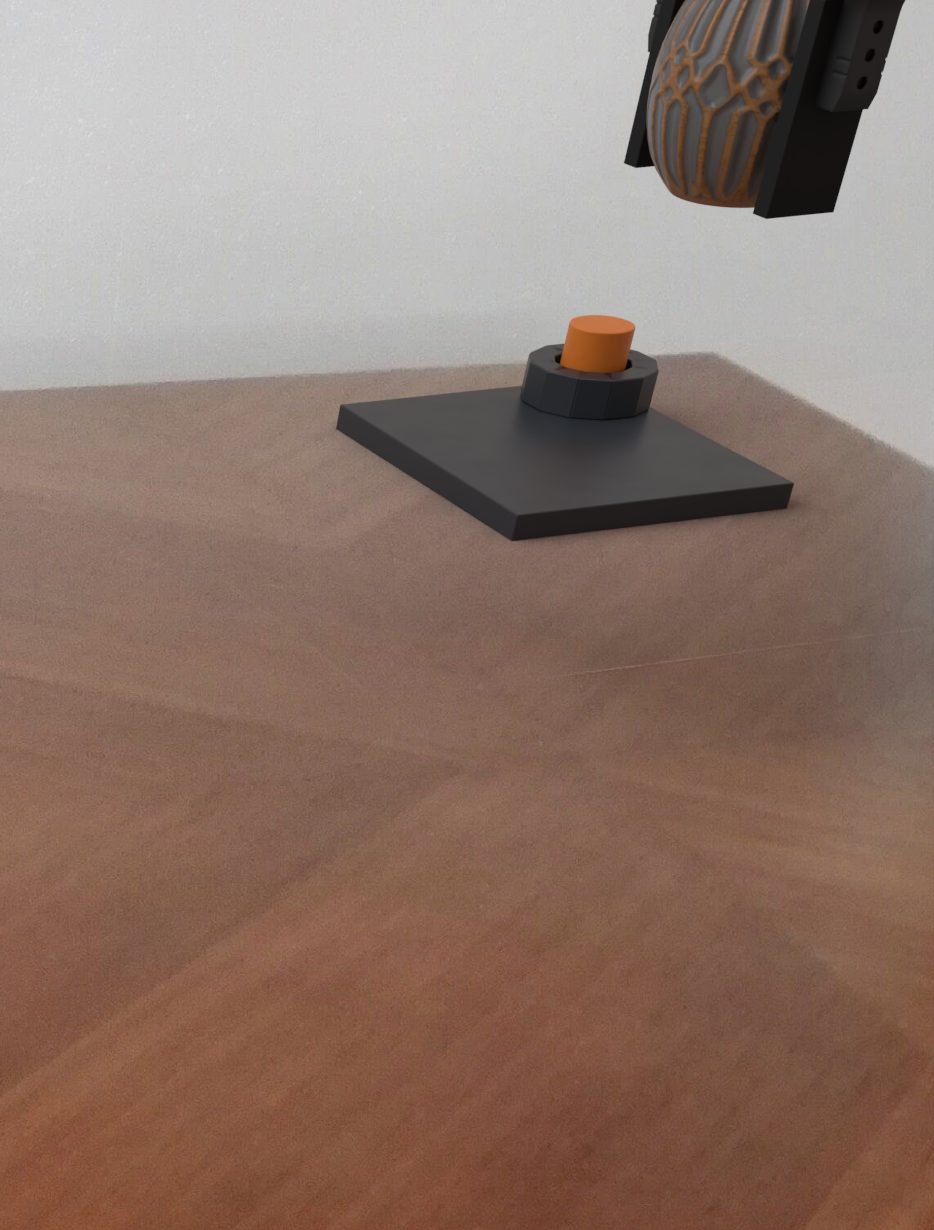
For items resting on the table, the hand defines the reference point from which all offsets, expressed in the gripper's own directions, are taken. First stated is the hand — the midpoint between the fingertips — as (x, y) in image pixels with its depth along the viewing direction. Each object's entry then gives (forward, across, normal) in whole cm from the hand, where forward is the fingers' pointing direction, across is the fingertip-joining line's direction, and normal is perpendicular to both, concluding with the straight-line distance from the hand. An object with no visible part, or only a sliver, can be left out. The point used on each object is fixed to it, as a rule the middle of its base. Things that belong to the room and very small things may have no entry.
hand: (725, 186), depth 88 cm
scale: (+17, +20, -10) cm, 28 cm away
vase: (+1, 0, 0) cm, 1 cm away
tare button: (+14, +25, -15) cm, 32 cm away
